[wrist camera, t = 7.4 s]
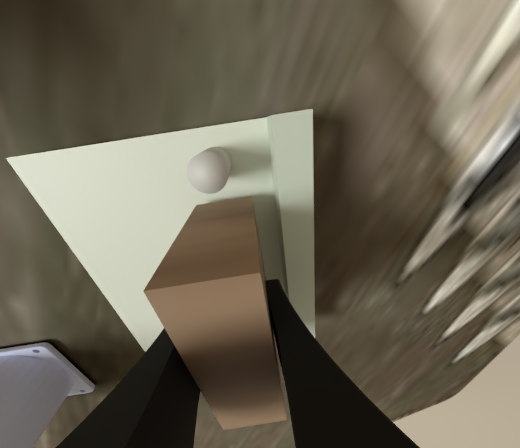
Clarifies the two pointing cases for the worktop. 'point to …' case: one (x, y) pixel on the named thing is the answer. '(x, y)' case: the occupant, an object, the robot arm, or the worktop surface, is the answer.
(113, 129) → the worktop surface
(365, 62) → the worktop surface
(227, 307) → the brown tapered block
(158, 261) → the ledge board
